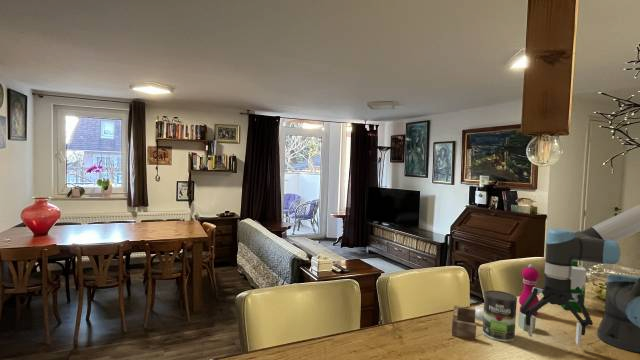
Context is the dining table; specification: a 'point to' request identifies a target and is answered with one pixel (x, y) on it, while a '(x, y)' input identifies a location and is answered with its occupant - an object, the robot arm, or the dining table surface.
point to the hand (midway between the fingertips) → (553, 339)
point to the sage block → (523, 324)
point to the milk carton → (577, 285)
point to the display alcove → (464, 323)
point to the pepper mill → (529, 285)
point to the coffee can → (499, 315)
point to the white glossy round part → (479, 313)
